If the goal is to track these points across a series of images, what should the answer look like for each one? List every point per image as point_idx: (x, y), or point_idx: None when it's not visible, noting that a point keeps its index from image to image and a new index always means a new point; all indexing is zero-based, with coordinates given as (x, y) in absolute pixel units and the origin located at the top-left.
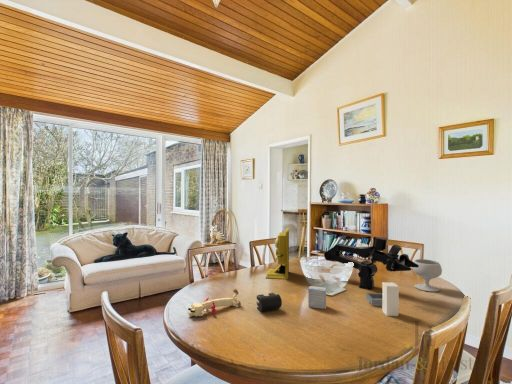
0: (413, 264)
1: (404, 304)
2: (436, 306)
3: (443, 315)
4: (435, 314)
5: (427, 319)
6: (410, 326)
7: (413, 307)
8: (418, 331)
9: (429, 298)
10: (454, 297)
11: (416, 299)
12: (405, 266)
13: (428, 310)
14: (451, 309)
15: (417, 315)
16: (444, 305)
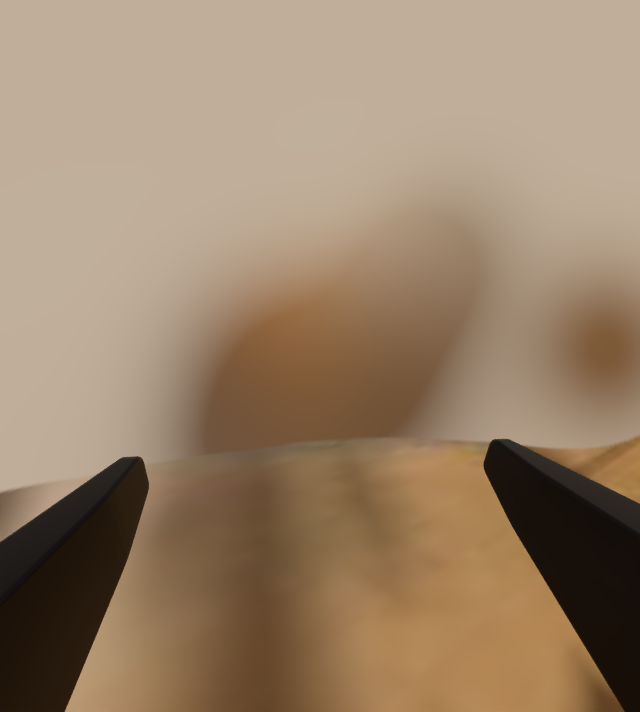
0: (79, 572)
1: (460, 687)
2: (280, 510)
3: (370, 450)
4: (394, 472)
5: (481, 471)
6: (618, 482)
7: (433, 594)
8: (601, 449)
9: (136, 613)
10: (12, 506)
11: (244, 686)
12: (616, 497)
13: (381, 511)
14: (263, 454)
15: (501, 516)
16: (227, 490)
